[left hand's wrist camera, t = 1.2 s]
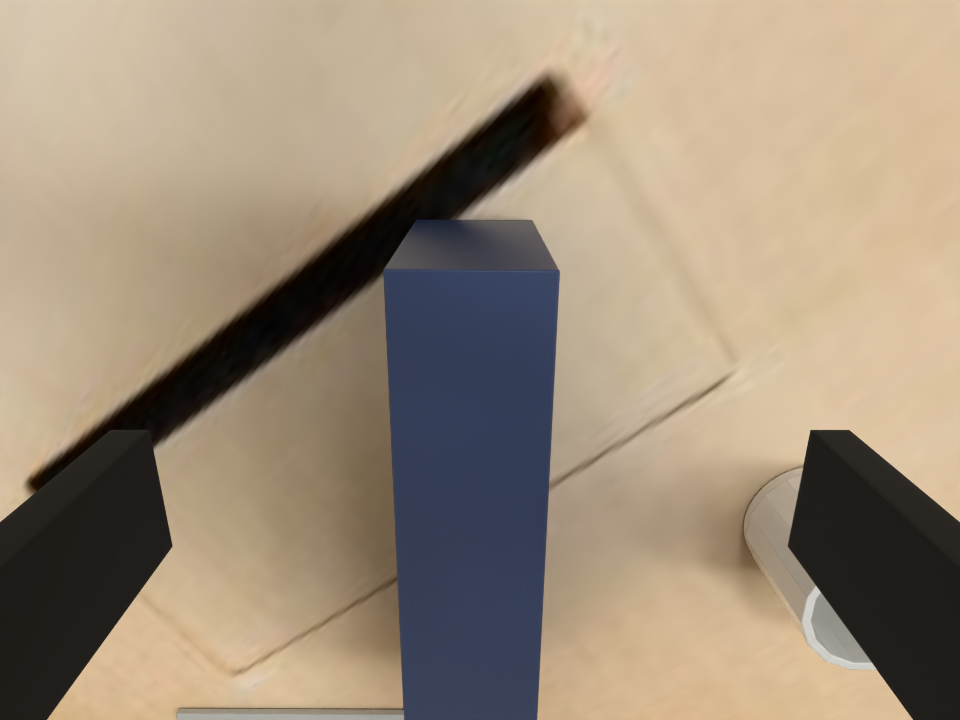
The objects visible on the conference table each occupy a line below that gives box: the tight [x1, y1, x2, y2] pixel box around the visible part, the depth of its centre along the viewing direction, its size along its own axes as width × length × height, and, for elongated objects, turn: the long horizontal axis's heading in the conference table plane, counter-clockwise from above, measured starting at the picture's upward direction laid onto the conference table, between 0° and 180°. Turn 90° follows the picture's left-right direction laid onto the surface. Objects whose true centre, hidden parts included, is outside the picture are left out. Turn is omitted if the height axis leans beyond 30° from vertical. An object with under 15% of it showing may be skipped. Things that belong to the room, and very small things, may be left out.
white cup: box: [744, 467, 877, 670], centre depth 30 cm, size 6×6×6 cm
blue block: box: [383, 220, 560, 720], centre depth 27 cm, size 24×5×10 cm, turn 0°
